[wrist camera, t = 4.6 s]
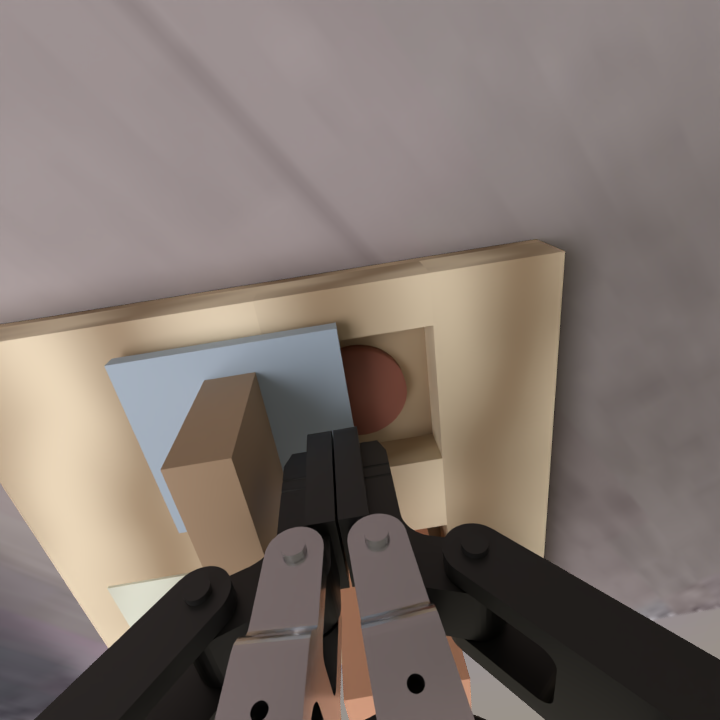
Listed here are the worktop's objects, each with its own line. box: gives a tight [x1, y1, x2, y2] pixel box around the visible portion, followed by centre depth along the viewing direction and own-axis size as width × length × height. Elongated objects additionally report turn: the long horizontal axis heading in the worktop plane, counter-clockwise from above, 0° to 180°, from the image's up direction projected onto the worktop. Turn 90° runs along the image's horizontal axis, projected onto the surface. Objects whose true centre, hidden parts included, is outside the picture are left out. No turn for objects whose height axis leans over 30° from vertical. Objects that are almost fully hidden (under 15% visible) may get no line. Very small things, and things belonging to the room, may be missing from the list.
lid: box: [104, 323, 354, 576], centre depth 13 cm, size 7×7×5 cm
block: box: [340, 528, 471, 720], centre depth 18 cm, size 4×4×7 cm
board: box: [0, 239, 565, 664], centre depth 19 cm, size 20×19×2 cm
